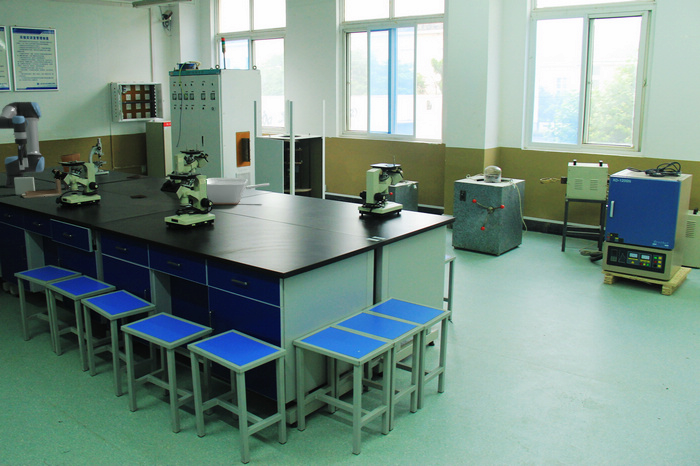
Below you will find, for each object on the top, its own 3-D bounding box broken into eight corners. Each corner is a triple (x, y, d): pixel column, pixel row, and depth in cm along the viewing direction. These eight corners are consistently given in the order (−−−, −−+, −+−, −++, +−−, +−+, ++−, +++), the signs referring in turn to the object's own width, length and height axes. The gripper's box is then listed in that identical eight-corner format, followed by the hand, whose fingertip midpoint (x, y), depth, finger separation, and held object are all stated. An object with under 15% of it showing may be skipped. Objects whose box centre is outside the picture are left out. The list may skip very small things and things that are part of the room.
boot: (94, 185, 473) (91, 151, 467) (99, 186, 467) (96, 152, 460) (61, 188, 456) (57, 153, 450) (65, 190, 450) (61, 154, 443)
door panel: (17, 194, 431) (15, 177, 428) (35, 193, 434) (33, 177, 431) (16, 194, 428) (14, 178, 425) (34, 194, 431) (32, 177, 428)
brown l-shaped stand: (22, 195, 426) (19, 171, 422) (58, 192, 439) (56, 169, 435) (24, 198, 416) (21, 173, 412) (62, 195, 430) (59, 171, 426)
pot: (209, 198, 426) (208, 177, 422) (271, 199, 428) (271, 178, 424) (200, 206, 398) (199, 184, 395) (267, 206, 400) (267, 184, 396)
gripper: (18, 136, 432) (22, 166, 437) (10, 140, 409) (14, 170, 414) (30, 136, 434) (33, 165, 440) (22, 139, 411) (26, 170, 416)
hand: (24, 168), depth 427 cm, fingers open, 13 cm apart
